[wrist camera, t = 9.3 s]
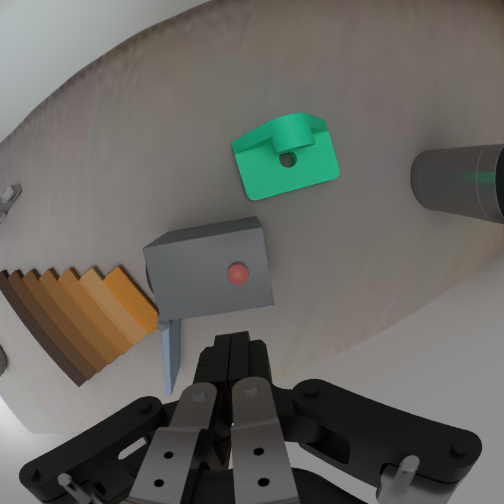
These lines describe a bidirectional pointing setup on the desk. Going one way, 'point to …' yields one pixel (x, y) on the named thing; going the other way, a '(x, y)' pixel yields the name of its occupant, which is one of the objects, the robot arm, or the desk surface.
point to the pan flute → (81, 316)
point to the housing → (208, 270)
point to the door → (171, 355)
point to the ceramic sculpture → (2, 362)
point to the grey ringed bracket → (8, 199)
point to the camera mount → (285, 141)
